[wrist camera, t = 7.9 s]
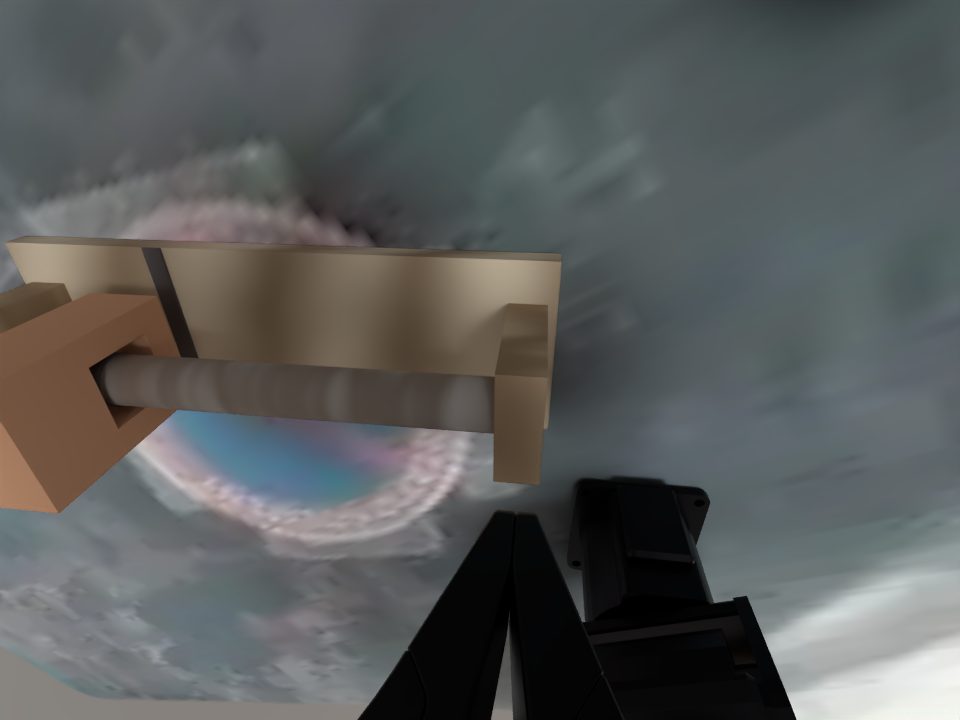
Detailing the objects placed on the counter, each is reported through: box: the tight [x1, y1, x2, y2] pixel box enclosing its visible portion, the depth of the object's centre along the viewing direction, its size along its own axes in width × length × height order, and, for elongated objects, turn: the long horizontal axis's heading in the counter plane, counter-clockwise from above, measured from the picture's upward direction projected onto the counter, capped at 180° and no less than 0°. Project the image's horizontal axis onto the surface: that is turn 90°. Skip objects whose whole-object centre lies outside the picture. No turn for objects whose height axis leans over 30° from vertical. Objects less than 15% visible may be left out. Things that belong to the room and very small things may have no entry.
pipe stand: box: [0, 236, 562, 485], centre depth 20 cm, size 24×8×6 cm, turn 90°
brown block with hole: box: [0, 293, 179, 513], centre depth 18 cm, size 3×5×7 cm, turn 0°
